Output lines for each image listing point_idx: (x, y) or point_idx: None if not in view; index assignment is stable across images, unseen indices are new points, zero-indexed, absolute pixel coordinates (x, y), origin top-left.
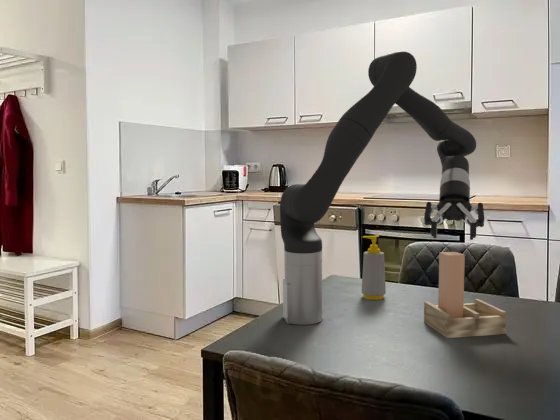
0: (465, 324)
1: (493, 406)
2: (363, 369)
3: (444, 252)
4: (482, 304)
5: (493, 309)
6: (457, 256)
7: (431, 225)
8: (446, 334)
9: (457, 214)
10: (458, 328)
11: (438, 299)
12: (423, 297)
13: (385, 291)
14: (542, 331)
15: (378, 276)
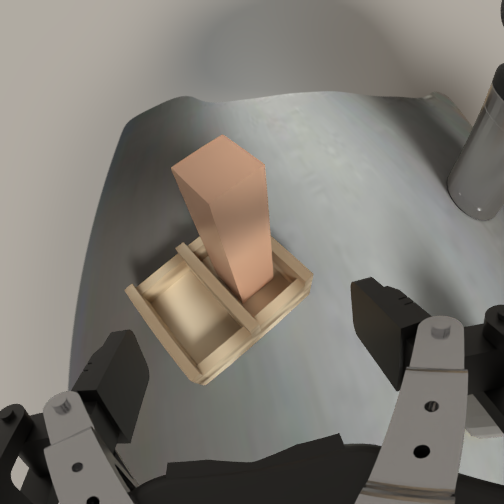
0: None
1: (170, 107)
2: (299, 103)
3: (246, 171)
4: (176, 344)
5: (150, 309)
6: (194, 155)
7: (425, 315)
8: None
9: (201, 475)
10: None
11: (271, 254)
12: None
13: (466, 423)
14: (87, 355)
15: None
